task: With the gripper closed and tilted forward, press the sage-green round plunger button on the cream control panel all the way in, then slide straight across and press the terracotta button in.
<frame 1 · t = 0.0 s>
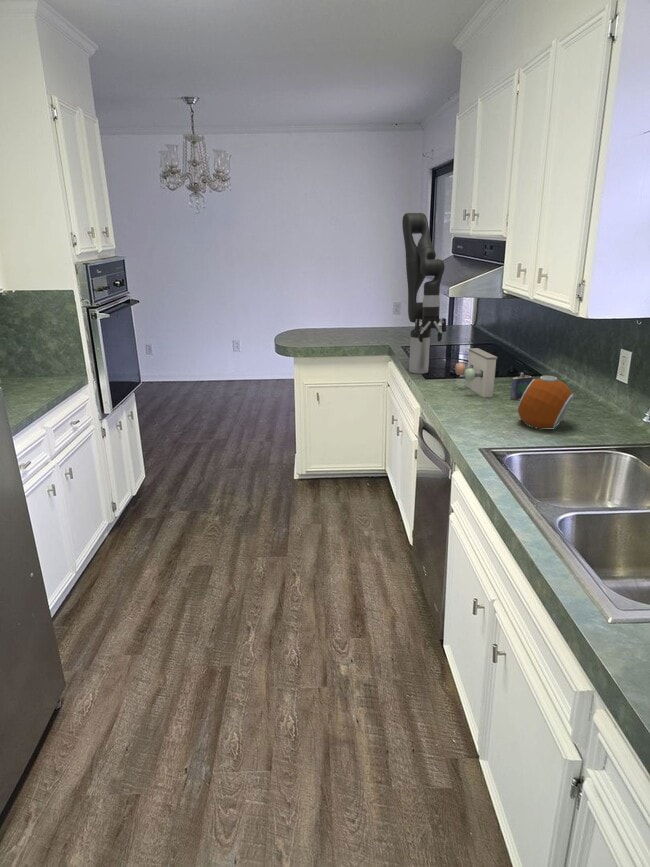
hand: (430, 341, 265), 17 cm above the worktop, tool pointing down, fingers open, 8 cm apart
terracotta button: (466, 368, 250), point 9 cm above the worktop, slide at 0.0 cm
panel: (479, 391, 250), on the worktop
flask: (519, 398, 239), on the worktop
alarm clock: (542, 424, 209), on the worktop
sage button: (476, 374, 241), point 9 cm above the worktop, slide at 0.0 cm
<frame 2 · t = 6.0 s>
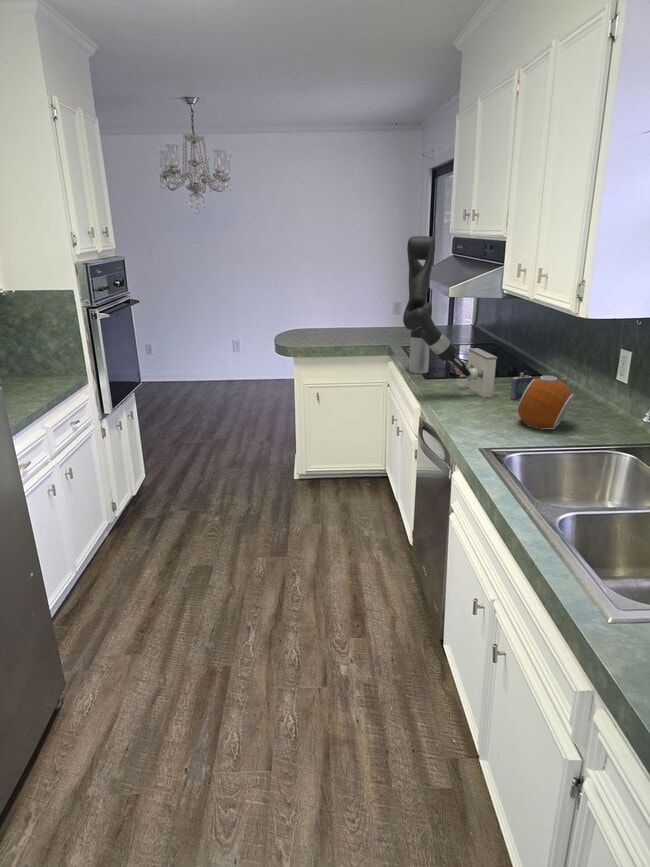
hand: (468, 375, 241), 9 cm above the worktop, tool tilted 45°, fingers closed
sage button: (479, 374, 241), point 9 cm above the worktop, slide at 1.4 cm, touching gripper
everything else where it was.
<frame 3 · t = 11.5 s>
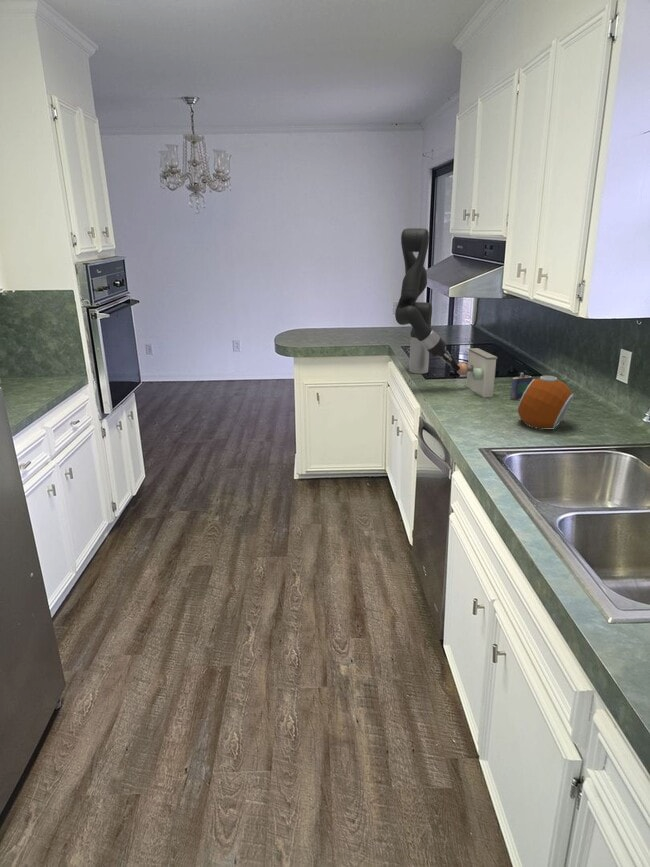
hand: (457, 369, 250), 9 cm above the worktop, tool tilted 45°, fingers closed
terracotta button: (468, 368, 251), point 9 cm above the worktop, slide at 0.9 cm, touching gripper
sage button: (484, 373, 242), point 9 cm above the worktop, slide at 3.6 cm
everything else where it was.
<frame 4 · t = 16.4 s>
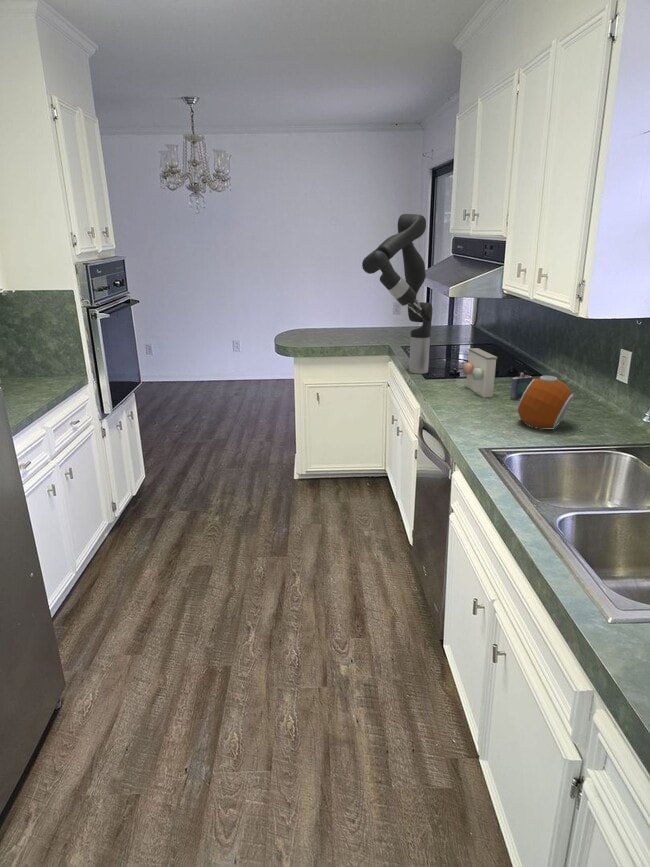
hand: (428, 320, 242), 30 cm above the worktop, tool tilted 45°, fingers closed
terracotta button: (474, 368, 251), point 9 cm above the worktop, slide at 3.6 cm
everything else where it was.
at the end: sage button slide at 3.6 cm; terracotta button slide at 3.6 cm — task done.
